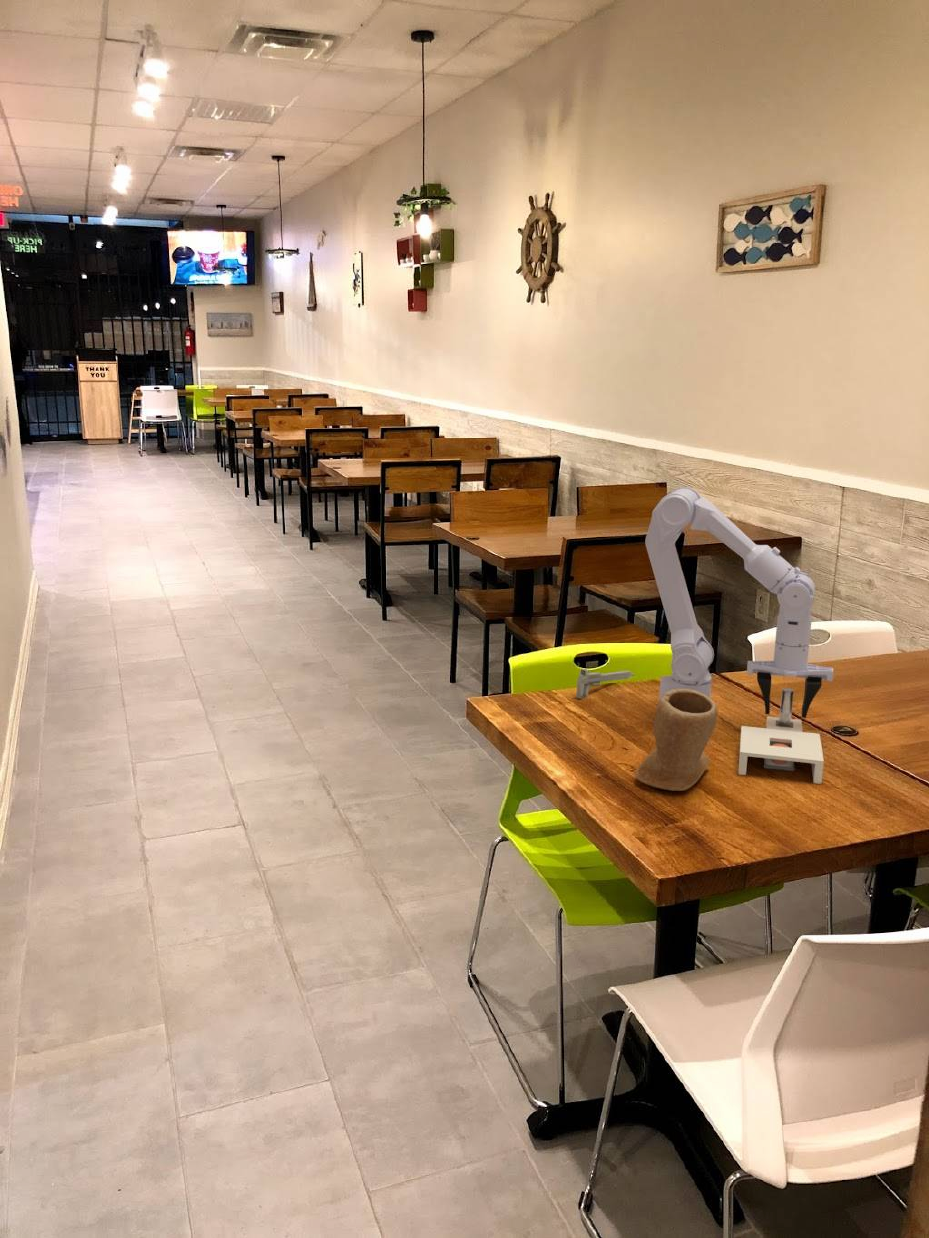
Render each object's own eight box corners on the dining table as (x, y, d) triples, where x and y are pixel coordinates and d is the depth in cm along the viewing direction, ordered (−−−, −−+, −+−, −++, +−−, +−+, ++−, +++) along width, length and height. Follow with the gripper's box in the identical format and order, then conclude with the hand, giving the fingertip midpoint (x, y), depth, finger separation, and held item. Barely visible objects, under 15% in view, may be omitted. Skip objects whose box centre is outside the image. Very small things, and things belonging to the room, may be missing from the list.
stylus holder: (766, 741, 173) (767, 728, 173) (765, 729, 179) (767, 716, 178) (801, 744, 172) (802, 731, 171) (800, 732, 177) (801, 719, 177)
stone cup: (698, 803, 150) (704, 713, 145) (626, 786, 156) (630, 699, 152) (727, 769, 162) (734, 685, 158) (660, 754, 168) (664, 672, 164)
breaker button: (764, 767, 162) (765, 750, 161) (764, 756, 166) (765, 739, 166) (794, 771, 161) (795, 753, 160) (793, 760, 165) (794, 742, 164)
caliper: (580, 701, 194) (581, 671, 192) (576, 700, 195) (577, 670, 193) (634, 676, 209) (635, 648, 207) (629, 675, 210) (631, 647, 208)
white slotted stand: (738, 774, 160) (740, 751, 159) (739, 746, 171) (741, 725, 170) (821, 783, 156) (823, 761, 155) (817, 755, 167) (819, 733, 166)
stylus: (777, 738, 175) (782, 691, 172) (777, 734, 176) (782, 687, 174) (789, 739, 174) (794, 692, 172) (788, 735, 176) (793, 689, 174)
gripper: (749, 645, 169) (743, 717, 172) (837, 652, 165) (829, 726, 168) (749, 634, 175) (744, 704, 179) (834, 640, 171) (826, 712, 175)
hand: (785, 714), depth 174 cm, fingers open, 6 cm apart
